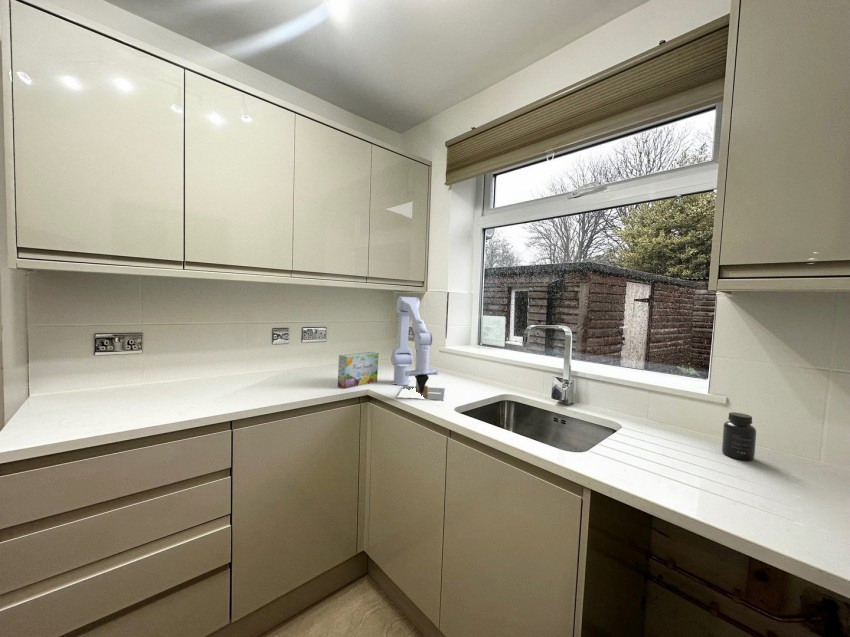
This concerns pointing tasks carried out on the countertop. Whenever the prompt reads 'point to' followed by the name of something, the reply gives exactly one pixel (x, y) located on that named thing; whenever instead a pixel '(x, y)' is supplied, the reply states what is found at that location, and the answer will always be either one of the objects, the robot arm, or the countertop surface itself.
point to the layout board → (430, 392)
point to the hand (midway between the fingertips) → (421, 392)
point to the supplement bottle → (739, 437)
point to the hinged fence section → (425, 391)
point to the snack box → (357, 369)
